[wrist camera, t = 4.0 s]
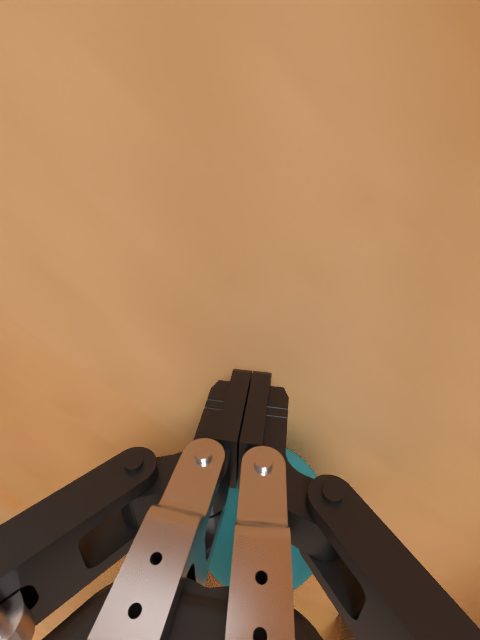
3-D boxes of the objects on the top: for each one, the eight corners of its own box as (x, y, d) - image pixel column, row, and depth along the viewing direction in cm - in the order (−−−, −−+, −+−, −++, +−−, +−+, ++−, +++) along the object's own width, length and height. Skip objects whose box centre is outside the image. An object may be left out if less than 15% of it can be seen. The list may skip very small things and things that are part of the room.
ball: (331, 420, 17) (343, 559, 11) (321, 500, 20) (326, 639, 14) (204, 408, 17) (162, 532, 12) (213, 486, 20) (181, 613, 15)
